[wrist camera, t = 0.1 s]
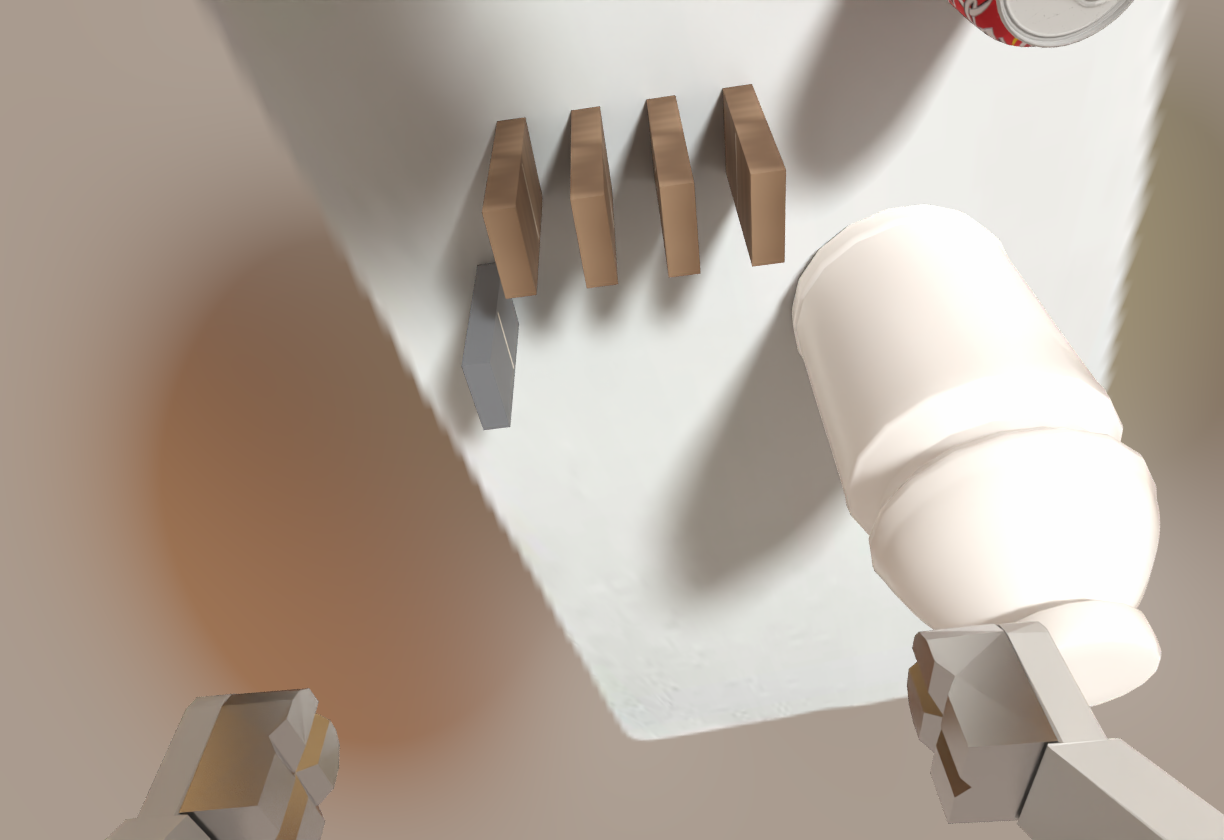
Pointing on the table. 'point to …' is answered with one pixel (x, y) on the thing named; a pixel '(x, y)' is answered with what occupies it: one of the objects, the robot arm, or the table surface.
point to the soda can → (1040, 19)
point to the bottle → (978, 443)
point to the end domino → (491, 349)
